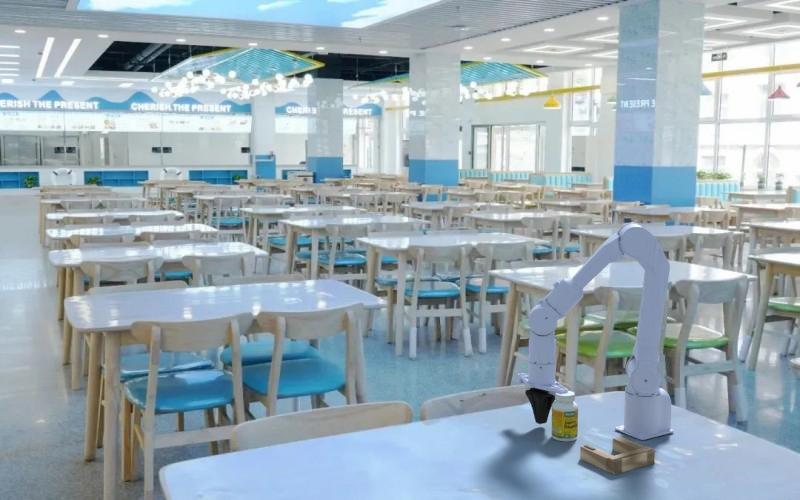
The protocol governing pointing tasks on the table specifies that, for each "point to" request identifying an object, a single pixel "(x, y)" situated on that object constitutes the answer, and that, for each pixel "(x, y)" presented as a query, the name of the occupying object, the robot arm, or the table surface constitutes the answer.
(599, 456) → the hub cradle
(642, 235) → the robot arm
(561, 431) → the supplement bottle
